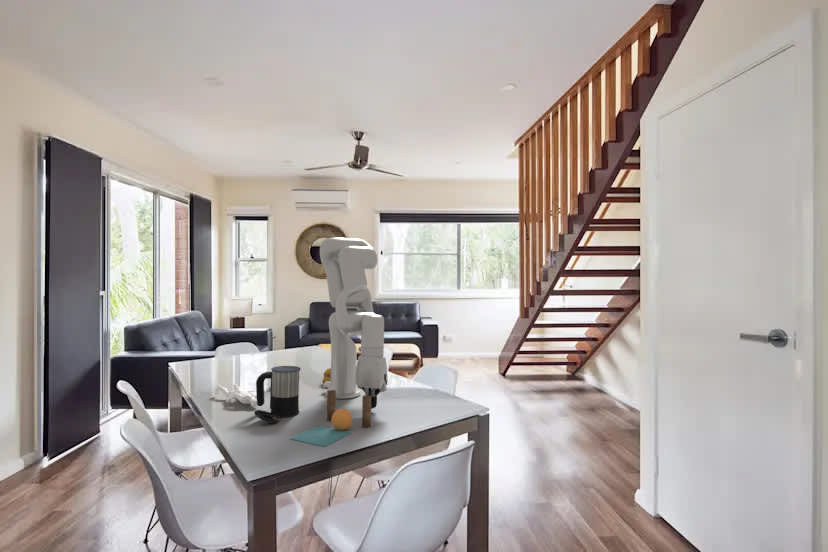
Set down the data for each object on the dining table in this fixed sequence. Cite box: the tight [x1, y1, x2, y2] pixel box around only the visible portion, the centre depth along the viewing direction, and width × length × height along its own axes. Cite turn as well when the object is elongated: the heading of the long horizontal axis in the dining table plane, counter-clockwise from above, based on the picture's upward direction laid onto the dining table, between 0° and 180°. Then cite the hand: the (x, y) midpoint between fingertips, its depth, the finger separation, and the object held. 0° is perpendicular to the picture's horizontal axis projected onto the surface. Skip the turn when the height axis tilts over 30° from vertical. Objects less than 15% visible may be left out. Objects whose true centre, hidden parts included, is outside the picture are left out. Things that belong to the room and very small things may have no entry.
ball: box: [330, 408, 353, 431], centre depth 134 cm, size 6×6×6 cm
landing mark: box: [289, 425, 352, 448], centre depth 129 cm, size 12×12×1 cm
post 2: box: [361, 394, 372, 429], centre depth 137 cm, size 3×3×9 cm
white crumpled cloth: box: [213, 383, 259, 408], centre depth 163 cm, size 12×6×25 cm
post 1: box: [326, 390, 337, 422], centre depth 144 cm, size 3×3×9 cm
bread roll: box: [321, 367, 331, 384], centre depth 191 cm, size 13×10×8 cm
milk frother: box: [253, 365, 301, 425], centre depth 145 cm, size 14×16×15 cm
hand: (371, 407), depth 152 cm, fingers closed
